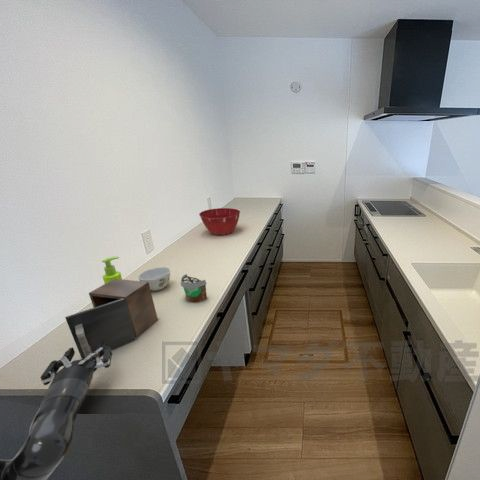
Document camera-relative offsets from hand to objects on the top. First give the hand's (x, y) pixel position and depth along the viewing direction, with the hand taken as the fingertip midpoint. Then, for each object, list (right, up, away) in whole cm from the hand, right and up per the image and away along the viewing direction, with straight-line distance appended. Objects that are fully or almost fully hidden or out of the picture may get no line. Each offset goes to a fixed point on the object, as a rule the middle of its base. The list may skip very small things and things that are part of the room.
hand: (88, 346), depth 77 cm
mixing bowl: (-6, +37, +121) cm, 127 cm away
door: (+1, -6, +8) cm, 10 cm away
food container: (+13, +5, +37) cm, 40 cm away
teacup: (-8, +8, +45) cm, 47 cm away
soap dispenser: (-18, +5, +36) cm, 41 cm away
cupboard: (-2, -1, +21) cm, 21 cm away
